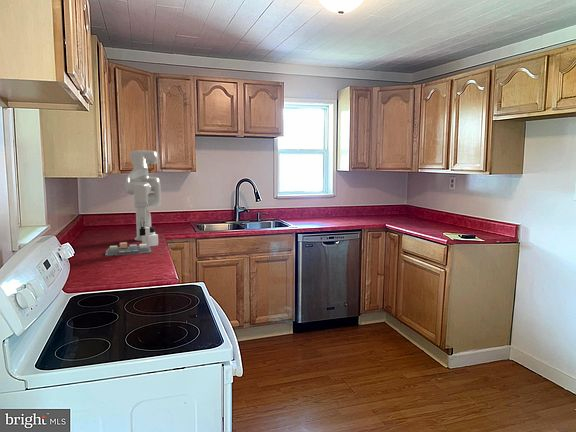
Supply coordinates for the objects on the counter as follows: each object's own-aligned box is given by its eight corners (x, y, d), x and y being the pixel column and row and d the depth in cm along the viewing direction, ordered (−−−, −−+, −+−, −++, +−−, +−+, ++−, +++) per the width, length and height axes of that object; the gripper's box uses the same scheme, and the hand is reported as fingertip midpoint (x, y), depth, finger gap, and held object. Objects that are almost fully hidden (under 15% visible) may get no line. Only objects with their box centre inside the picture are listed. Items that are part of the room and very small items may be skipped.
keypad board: (106, 251, 248) (106, 246, 248) (150, 248, 257) (150, 244, 257) (105, 256, 235) (104, 251, 235) (151, 252, 244) (151, 248, 244)
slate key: (129, 248, 248) (129, 244, 248) (137, 248, 250) (136, 244, 249) (129, 250, 244) (129, 246, 244) (137, 249, 246) (136, 245, 246)
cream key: (139, 248, 250) (139, 244, 250) (146, 247, 252) (146, 243, 251) (139, 249, 246) (139, 245, 246) (146, 249, 248) (146, 244, 248)
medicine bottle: (152, 243, 270) (151, 225, 268) (158, 245, 266) (157, 226, 264) (142, 245, 265) (141, 227, 263) (148, 247, 260) (147, 228, 258)
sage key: (110, 250, 244) (109, 246, 244) (117, 249, 246) (117, 245, 246) (109, 251, 241) (109, 247, 240) (117, 251, 242) (117, 246, 242)
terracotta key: (119, 246, 246) (119, 242, 246) (127, 246, 248) (127, 242, 247) (119, 248, 242) (119, 243, 242) (127, 247, 244) (127, 243, 244)
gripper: (134, 203, 251) (135, 233, 254) (134, 206, 237) (136, 238, 241) (147, 202, 254) (148, 232, 257) (148, 206, 240) (149, 237, 243)
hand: (142, 235), depth 249 cm, fingers closed
